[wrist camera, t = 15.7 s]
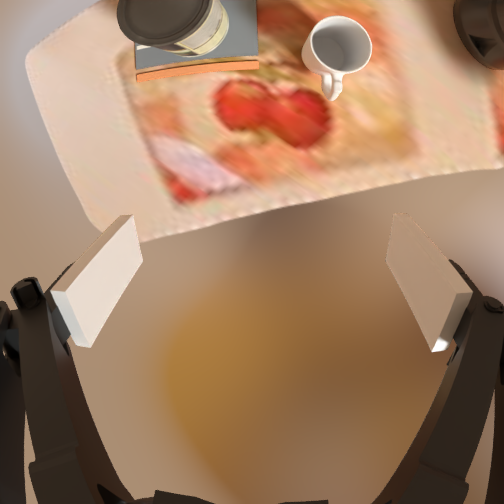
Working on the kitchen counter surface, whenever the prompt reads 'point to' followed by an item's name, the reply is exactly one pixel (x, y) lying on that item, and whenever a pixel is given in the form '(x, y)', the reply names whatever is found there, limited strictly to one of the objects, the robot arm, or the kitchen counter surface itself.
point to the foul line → (198, 69)
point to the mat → (234, 44)
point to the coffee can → (174, 24)
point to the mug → (336, 51)
